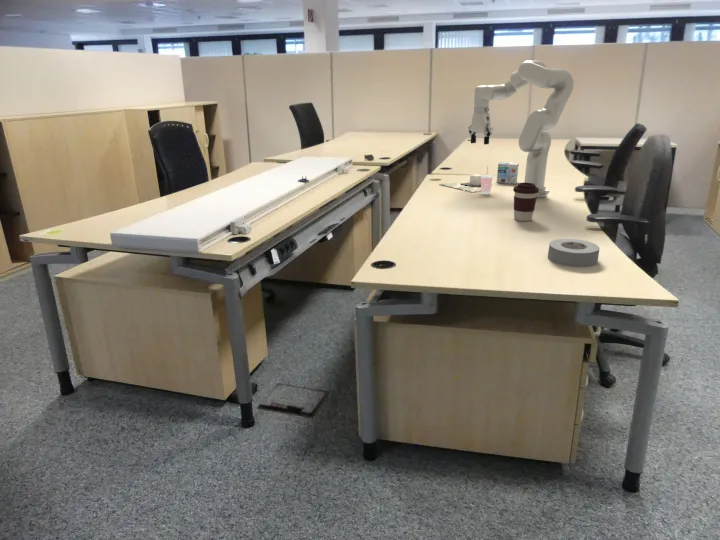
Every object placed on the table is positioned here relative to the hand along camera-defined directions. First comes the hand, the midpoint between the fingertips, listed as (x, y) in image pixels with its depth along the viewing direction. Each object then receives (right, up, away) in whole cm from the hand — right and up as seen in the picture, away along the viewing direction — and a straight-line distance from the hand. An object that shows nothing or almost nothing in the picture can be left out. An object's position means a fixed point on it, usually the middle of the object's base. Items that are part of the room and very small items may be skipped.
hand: (479, 143), depth 287 cm
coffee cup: (+4, -47, -63) cm, 79 cm away
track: (-10, -23, +1) cm, 25 cm away
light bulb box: (+19, -18, +15) cm, 30 cm away
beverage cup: (0, -29, -13) cm, 32 cm away
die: (0, -20, +8) cm, 22 cm away
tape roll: (+5, -65, -112) cm, 129 cm away
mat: (0, -21, +8) cm, 22 cm away
